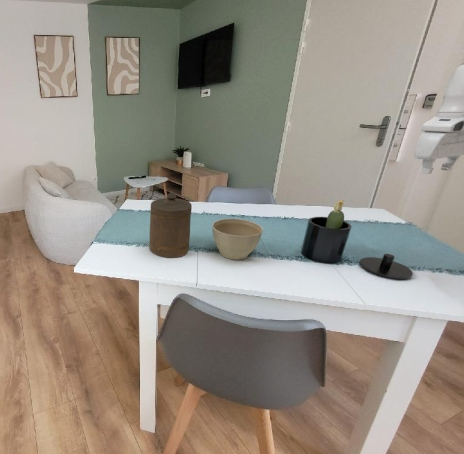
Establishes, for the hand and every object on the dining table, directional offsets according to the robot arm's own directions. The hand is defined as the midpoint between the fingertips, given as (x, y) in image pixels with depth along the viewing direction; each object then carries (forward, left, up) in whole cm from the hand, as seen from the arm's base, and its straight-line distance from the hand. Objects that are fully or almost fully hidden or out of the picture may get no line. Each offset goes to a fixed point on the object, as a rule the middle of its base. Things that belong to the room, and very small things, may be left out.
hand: (436, 171), depth 87 cm
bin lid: (-3, +14, -28) cm, 32 cm away
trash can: (+11, +23, -29) cm, 39 cm away
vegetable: (+11, +21, -29) cm, 37 cm away
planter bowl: (+24, +49, -29) cm, 62 cm away
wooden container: (+37, +68, -29) cm, 83 cm away
